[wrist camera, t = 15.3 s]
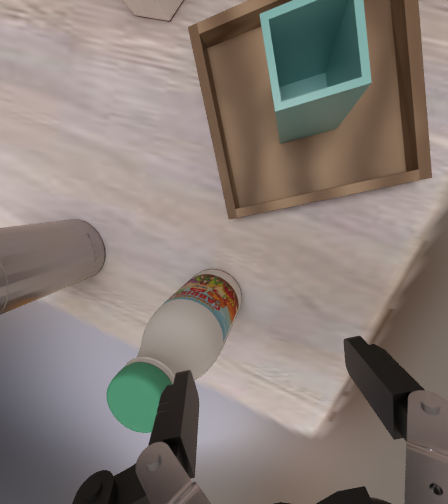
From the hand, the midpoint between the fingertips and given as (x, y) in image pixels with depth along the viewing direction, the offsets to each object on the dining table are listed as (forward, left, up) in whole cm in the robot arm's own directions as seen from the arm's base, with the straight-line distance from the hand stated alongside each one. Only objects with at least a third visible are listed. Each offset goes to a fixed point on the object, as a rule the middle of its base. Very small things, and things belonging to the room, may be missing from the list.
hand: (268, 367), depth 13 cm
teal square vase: (+5, +17, -20) cm, 27 cm away
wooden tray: (+5, +17, -21) cm, 27 cm away
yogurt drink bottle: (-10, -3, -21) cm, 23 cm away
